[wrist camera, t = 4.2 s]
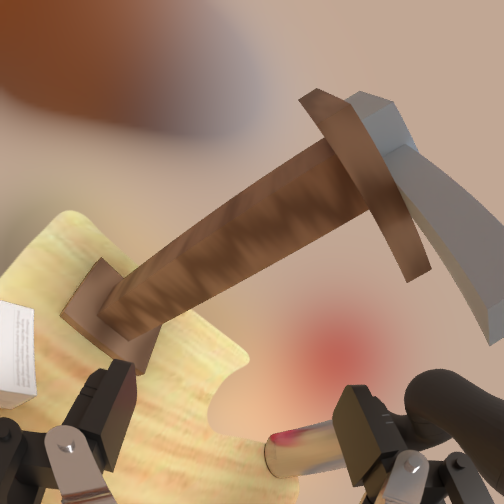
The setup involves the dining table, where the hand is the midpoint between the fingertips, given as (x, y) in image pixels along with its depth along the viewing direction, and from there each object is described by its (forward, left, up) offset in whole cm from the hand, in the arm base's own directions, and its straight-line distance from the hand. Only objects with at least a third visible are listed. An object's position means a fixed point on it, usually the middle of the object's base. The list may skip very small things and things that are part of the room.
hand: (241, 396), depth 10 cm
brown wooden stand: (-2, -15, -24) cm, 29 cm away
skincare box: (+7, -1, -24) cm, 26 cm away
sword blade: (-2, -10, +9) cm, 14 cm away
